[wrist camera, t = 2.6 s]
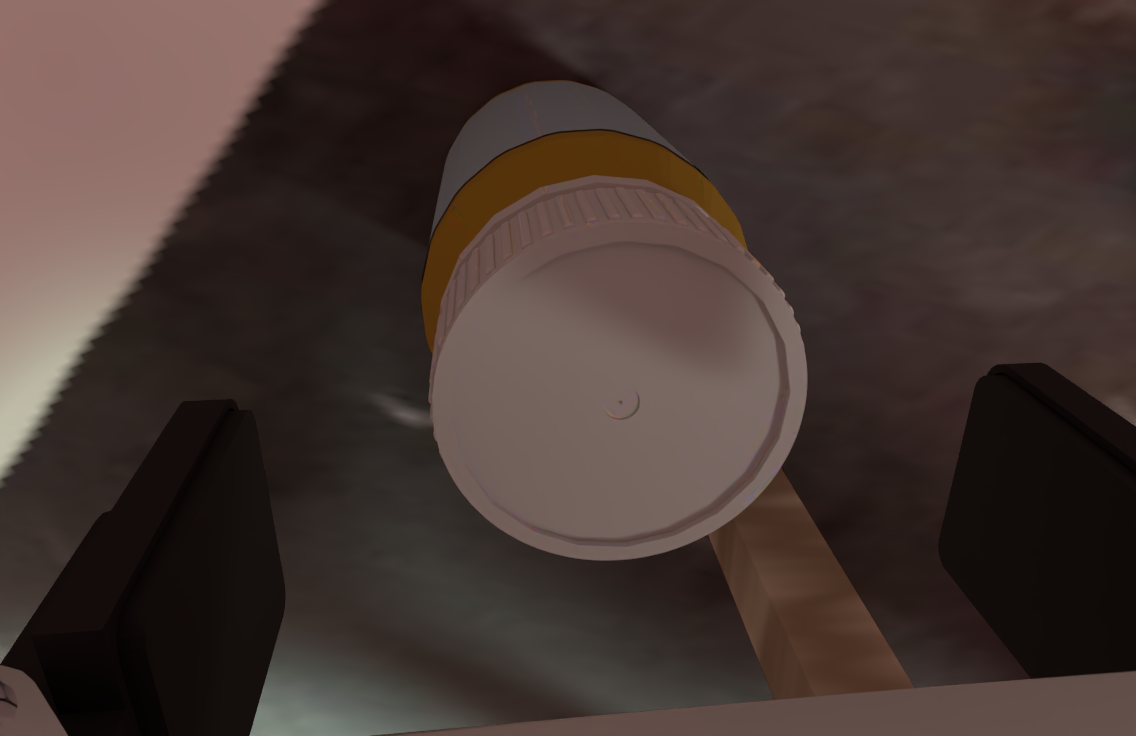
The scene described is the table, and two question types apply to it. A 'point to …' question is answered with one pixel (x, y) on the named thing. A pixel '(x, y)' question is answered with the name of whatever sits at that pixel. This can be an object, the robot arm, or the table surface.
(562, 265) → the bottle
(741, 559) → the trapdoor frame
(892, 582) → the table surface
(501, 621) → the table surface
